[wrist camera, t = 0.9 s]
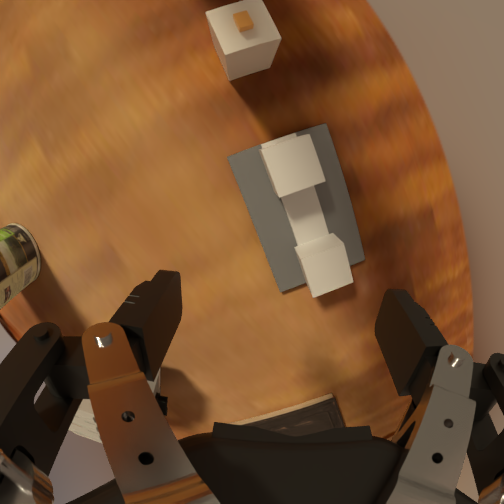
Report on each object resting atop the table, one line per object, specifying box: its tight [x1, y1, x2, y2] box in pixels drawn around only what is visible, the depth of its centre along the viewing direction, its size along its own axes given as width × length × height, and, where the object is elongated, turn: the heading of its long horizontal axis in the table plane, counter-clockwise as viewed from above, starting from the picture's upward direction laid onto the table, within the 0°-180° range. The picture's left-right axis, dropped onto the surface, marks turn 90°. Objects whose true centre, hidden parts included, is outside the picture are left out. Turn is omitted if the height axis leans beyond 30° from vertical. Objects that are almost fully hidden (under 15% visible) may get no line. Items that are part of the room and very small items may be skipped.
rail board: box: [227, 123, 365, 298], centre depth 32 cm, size 18×12×6 cm, turn 21°
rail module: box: [205, 0, 282, 81], centre depth 23 cm, size 5×5×11 cm
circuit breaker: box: [68, 369, 168, 443], centre depth 35 cm, size 8×14×15 cm, turn 79°
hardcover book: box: [228, 393, 345, 436], centre depth 49 cm, size 16×23×2 cm
